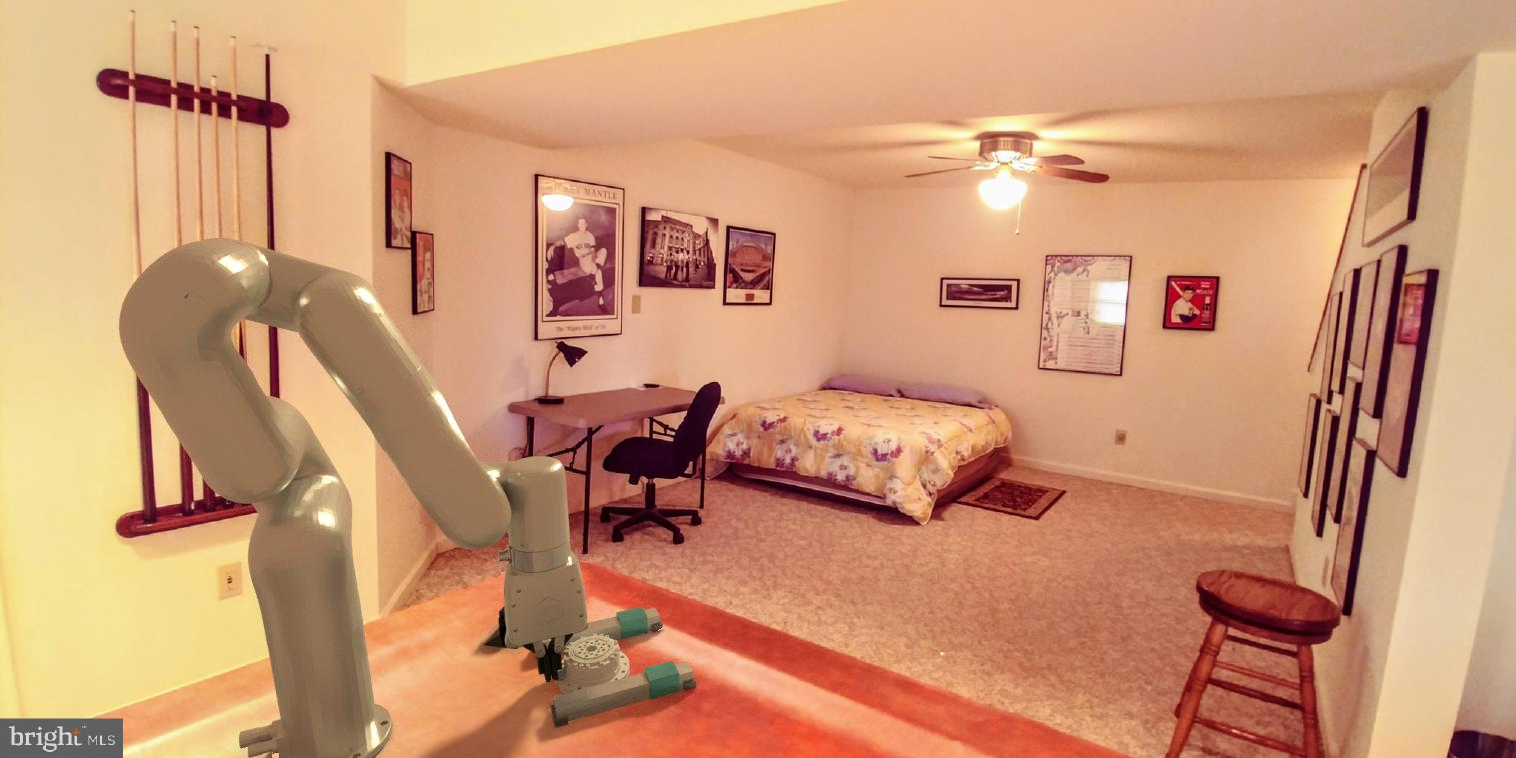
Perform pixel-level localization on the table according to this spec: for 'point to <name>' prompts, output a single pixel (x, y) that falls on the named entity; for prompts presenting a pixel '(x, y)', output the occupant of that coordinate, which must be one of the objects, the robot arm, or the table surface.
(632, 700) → the bar rails
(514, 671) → the table surface
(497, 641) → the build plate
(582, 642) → the mechanical component
